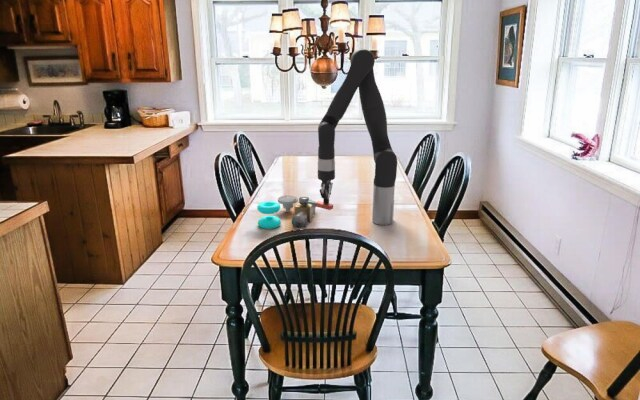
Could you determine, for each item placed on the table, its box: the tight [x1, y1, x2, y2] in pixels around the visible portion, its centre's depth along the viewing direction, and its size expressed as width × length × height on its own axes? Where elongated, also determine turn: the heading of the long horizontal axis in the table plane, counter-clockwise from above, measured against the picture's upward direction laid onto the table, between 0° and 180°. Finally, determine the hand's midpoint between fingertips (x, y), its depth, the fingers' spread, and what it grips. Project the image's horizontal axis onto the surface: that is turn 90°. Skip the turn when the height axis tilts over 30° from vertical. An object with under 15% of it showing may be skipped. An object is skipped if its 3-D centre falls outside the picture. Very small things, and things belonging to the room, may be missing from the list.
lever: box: [298, 196, 334, 211], centre depth 207 cm, size 17×4×2 cm, turn 54°
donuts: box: [256, 200, 282, 230], centre depth 205 cm, size 10×10×10 cm
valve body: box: [291, 201, 317, 229], centre depth 212 cm, size 7×22×8 cm, turn 168°
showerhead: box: [277, 194, 299, 213], centre depth 223 cm, size 9×7×10 cm
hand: (326, 205), depth 208 cm, fingers closed
